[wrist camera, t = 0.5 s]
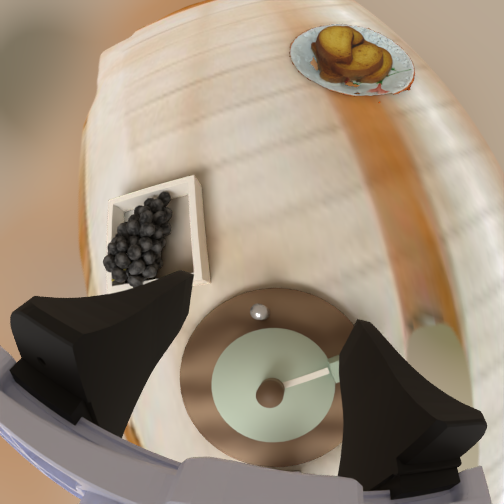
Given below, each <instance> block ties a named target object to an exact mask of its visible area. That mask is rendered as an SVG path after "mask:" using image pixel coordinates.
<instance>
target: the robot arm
mask: <svg viewBox="0 0 504 504" xmlns="http://www.w3.org/2000/svg"><path fill="white" fill-rule="evenodd" d="M193 278H194V274H191V273H188V272H185V271H181V270H180V271H177V272H174V273H172V274H169V275H167V276H164V277H162V278H159V279H157V280H154V281H151V282H149V283H146V284H143V285H140V286H137V287H134V288H131V289H128V290H124V291H120V292H116V293H111V294H106V295H99V296H91V297H81V298H52V297H40V296H34V297H32V298H31V299H30V300H28V301H27V302H26V303H24V304H23V305H22V306H20V307H19V308H17V309H16V310H15V311H14V312H12V314H11V317H10V318H11V319H10V320H11V321H10V323H11V329H12V333H13V335H14V339H15V341H16V344H17V347H18V350H19V352H20V355H21V357H22V358H21V359H20V360H19V361H18V362H17V363H16V361H15V360H14V358H13V357H12V356H11V355H10V354H9V353H8V352H7V351H5V350H4V349H3V348H2V347H1V346H0V435H1V436H2V437H3V438H4V439H5V440H6V441H7V442H8V443H9V444H10V445H11V446H12V447H13V448H14V449H15V450H16V451H18V452H19V453H20V454H21V455H22V456H23V457H24V458H25V459H27V460H28V461H29V462H30V463H31V464H33V465H34V466H35V467H36V468H37V469H39V470H40V471H41V472H42V473H44V474H45V475H46V476H47V477H49V478H50V479H52V480H53V481H54V482H56V483H57V484H58V485H60V486H61V487H63V488H64V489H66V490H67V491H68V492H70V493H71V494H73V495H75V496H76V497H78V498H79V499H81V501H80V503H79V504H492V503H491V498H490V494H489V490H488V486H487V483H486V479H485V475H484V472H483V469H482V466H478V467H474V468H471V469H467V470H464V471H462V472H460V473H458V470H457V467H459V466H460V465H461V459H460V457H461V456H462V455H463V454H465V453H466V452H467V451H468V450H469V449H470V448H471V447H473V446H474V445H475V444H476V443H477V442H478V441H479V440H480V439H481V438H482V436H483V435H484V433H485V431H486V429H487V423H486V421H485V419H484V416H483V414H482V413H481V411H479V410H477V409H474V408H472V407H470V406H468V405H465V404H463V403H461V402H459V401H458V400H456V399H454V398H452V397H451V396H449V395H447V394H446V393H444V392H443V391H441V390H440V389H438V388H437V387H436V386H434V385H433V384H431V383H430V382H429V381H427V380H426V379H425V378H424V377H423V376H422V375H420V374H419V373H418V372H417V371H416V370H415V369H414V368H413V367H411V365H410V364H408V362H407V361H406V360H405V359H404V358H403V357H402V356H401V355H400V354H399V353H398V352H397V351H396V350H395V349H394V347H393V346H392V345H391V344H390V343H389V342H388V341H387V340H386V338H385V337H384V336H383V335H382V334H381V333H380V332H379V331H378V330H377V328H376V327H375V326H374V325H372V324H371V323H370V322H367V321H363V320H359V319H357V321H356V323H355V325H354V327H353V329H352V331H351V333H350V335H349V337H348V339H347V341H346V343H345V344H344V346H343V348H342V350H341V352H340V354H339V381H340V390H341V399H342V409H343V440H342V450H341V459H340V466H339V472H338V476H328V475H315V474H305V473H301V472H300V471H294V472H289V471H282V470H276V469H270V468H265V467H259V466H254V465H250V464H245V463H241V462H236V461H232V460H226V459H220V458H214V457H192V458H188V459H186V460H185V461H184V462H182V463H180V462H177V461H174V460H171V459H169V458H166V457H163V456H161V455H158V454H156V453H153V452H151V451H149V450H146V449H144V448H142V447H139V446H137V445H135V444H133V443H130V442H128V441H126V440H124V439H122V436H123V433H124V431H125V428H126V426H127V423H128V421H129V419H130V416H131V414H132V412H133V409H134V407H135V405H136V403H137V401H138V399H139V397H140V394H141V392H142V390H143V388H144V386H145V384H146V382H147V380H148V378H149V376H150V375H151V373H152V371H153V369H154V368H155V366H156V365H157V363H158V362H159V360H160V359H161V357H162V356H163V354H164V353H165V352H166V350H167V349H168V347H169V346H170V344H171V343H172V341H173V340H174V339H175V337H176V336H177V334H178V333H179V331H180V329H181V327H182V325H183V323H184V321H185V319H186V317H187V315H188V313H189V305H190V298H191V291H192V285H193Z"/></svg>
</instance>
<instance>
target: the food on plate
mask: <svg viewBox="0 0 504 504" xmlns="http://www.w3.org/2000/svg"><path fill="white" fill-rule="evenodd" d="M290 57H291V59H292V63H293V65H295V66H296V67H297V69H298V72H301V74H302V75H303V76H305V77H307V79H309V80H310V81H311V80H312V81H314V82H316V83H318V84H319V85H321V86H322V87H326V88H328V89H329V90H330V91H336V92H338V93H343V94H344V95H350V96H357V95H361V96H363V95H369V96H372V95H382V94H387V93H393V95H394V94H398V93H400V92H402V91H404V90H410V87H411V84H412V83H413V81H414V76H415V69H414V65H413V63H412V61H411V59H410V57H409V55H408V54H407V53H406V52H405V51H404V50H403V49H402V48H401V47H400V46H399V45H398V44H396V43H395V42H394V41H392V40H391V39H389V38H387V37H386V36H384V35H382V34H380V33H379V32H375V31H373V30H371V29H369V28H363V27H359V26H351V25H346V24H336V25H334V24H332V25H326V26H319V27H316V28H312V29H309V30H307V31H306V32H303V33H301V34H300V35H299V36H297V37H296V38H295V39H294V41H293V42H292V43H291V46H290ZM312 57H314V59H315V60H316V62H317V63H318V68H319V69H318V71H317V70H315V68H314V67H313V66H312V65H311V64H310V62H311V61H312ZM349 81H351V82H353V84H357V85H360V86H359V87H353V86H348V85H344V84H345V83H347V82H349ZM357 92H359V93H360V94H354V93H357ZM378 103H380V102H378Z"/></svg>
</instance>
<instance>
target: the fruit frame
mask: <svg viewBox="0 0 504 504" xmlns="http://www.w3.org/2000/svg"><path fill="white" fill-rule="evenodd" d="M161 192H168V193H169V194H170V196H171V199H173V198H177V197H181V196H185V195H188V198H189V215H190V230H191V243H192V255H193V266H194V273H191V274H194V278H193V285H192V286H197V285H203V284H209V283H211V281H210V272H209V263H208V253H207V243H206V233H205V222H204V210H203V197H202V186H201V184H200V183H199V181H198V180H197V178H196V177H195V176H194V175H191V176H187V177H184V178H180V179H176V180H173V181H169V182H165V183H162V184H158V185H155V186H151V187H148V188H145V189H141V190H138V191H135V192H132V193H129V194H125V195H122V196H119V197H116V198H113V199H110V200H109V201H108V216H107V240H106V256H107V252H108V249H107V246H108V244H109V243H110V242H111V240H112V239H113V238H114V237H115V235H116V234H117V227H118V226H119V225H120V224H121V223H124V212H126V211H130V210H133V209H135V208H136V207H137V206H138V205H142V206H144V201H145V200H146V199H147V198H153V199H157V198H158V196H159V194H160V193H161ZM112 279H113V278H112V273H111V272H108V271H106V281H107V294H111V293H116V292H120V291H124V290H128V289H131V288H133V287H132V286H130V285H129V284H125V281H124V282H122V283H121V282H117V281H115V280H114V281H113V282H112V281H111V280H112ZM154 280H157V279H153V280H147V281H144V282H143V284H146V283H149V282H151V281H154Z"/></svg>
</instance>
